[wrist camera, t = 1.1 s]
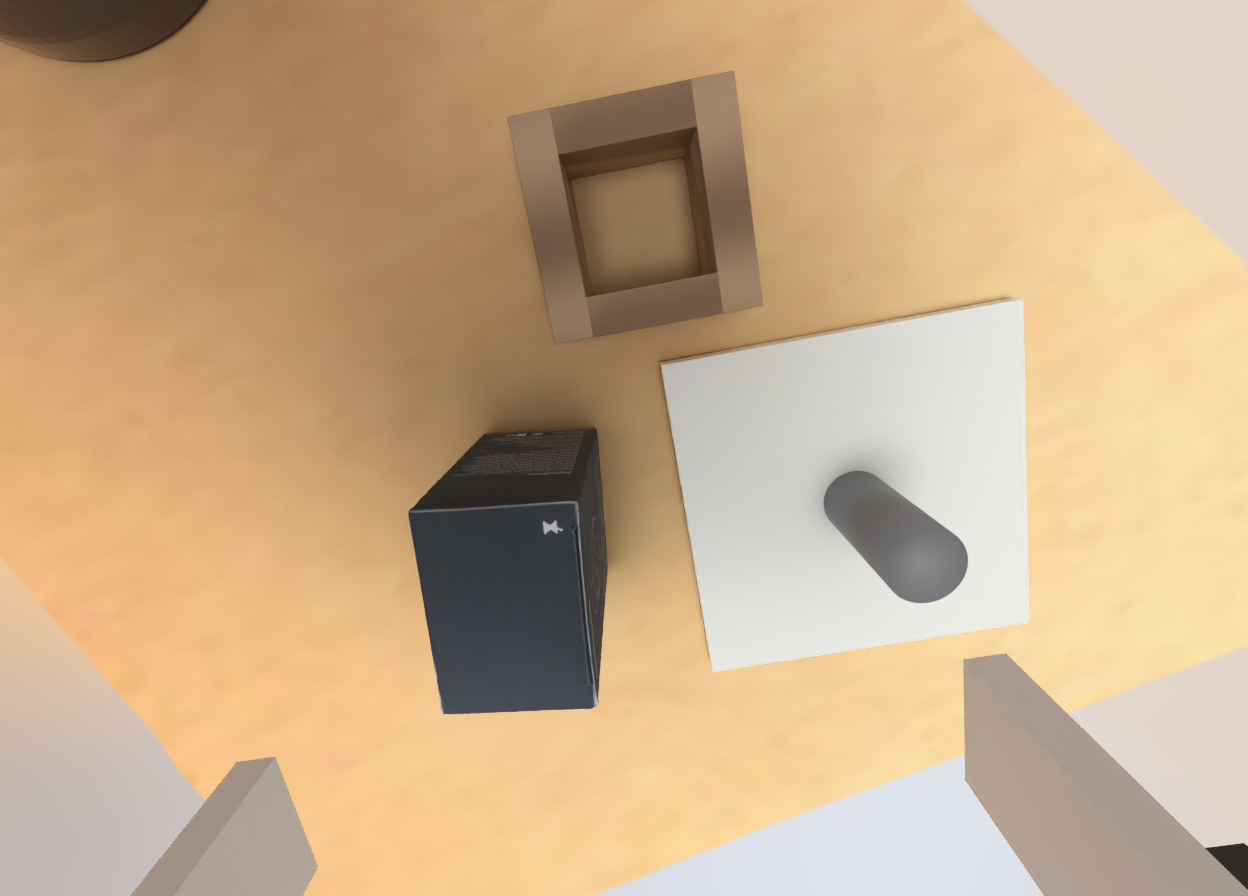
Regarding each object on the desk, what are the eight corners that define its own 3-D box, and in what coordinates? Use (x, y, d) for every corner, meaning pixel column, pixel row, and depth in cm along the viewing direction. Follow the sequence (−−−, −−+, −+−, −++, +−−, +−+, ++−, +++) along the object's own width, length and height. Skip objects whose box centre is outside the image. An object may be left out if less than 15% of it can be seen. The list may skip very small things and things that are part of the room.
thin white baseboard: (659, 362, 28) (672, 390, 20) (1006, 298, 27) (1161, 301, 20) (709, 658, 32) (736, 778, 24) (1014, 610, 31) (1145, 718, 23)
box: (481, 432, 29) (402, 508, 19) (598, 425, 29) (582, 498, 19) (499, 580, 31) (437, 722, 21) (609, 574, 31) (600, 713, 21)
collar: (529, 149, 26) (506, 117, 21) (713, 112, 26) (734, 70, 21) (567, 335, 28) (555, 344, 23) (739, 303, 28) (762, 305, 23)
